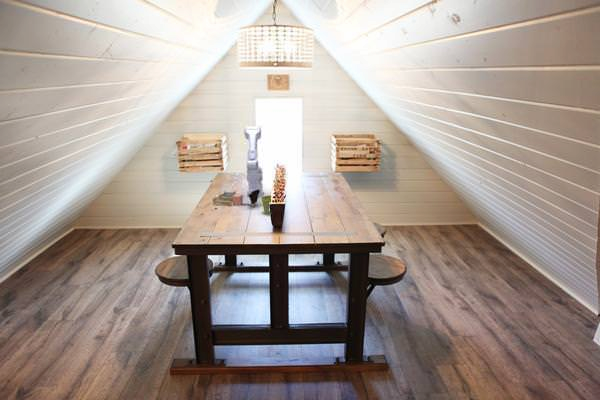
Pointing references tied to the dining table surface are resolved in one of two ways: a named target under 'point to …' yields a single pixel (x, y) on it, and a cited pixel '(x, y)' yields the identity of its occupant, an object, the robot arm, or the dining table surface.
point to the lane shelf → (222, 200)
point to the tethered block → (239, 200)
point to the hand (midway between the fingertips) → (254, 202)
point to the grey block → (230, 193)
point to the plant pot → (266, 203)
